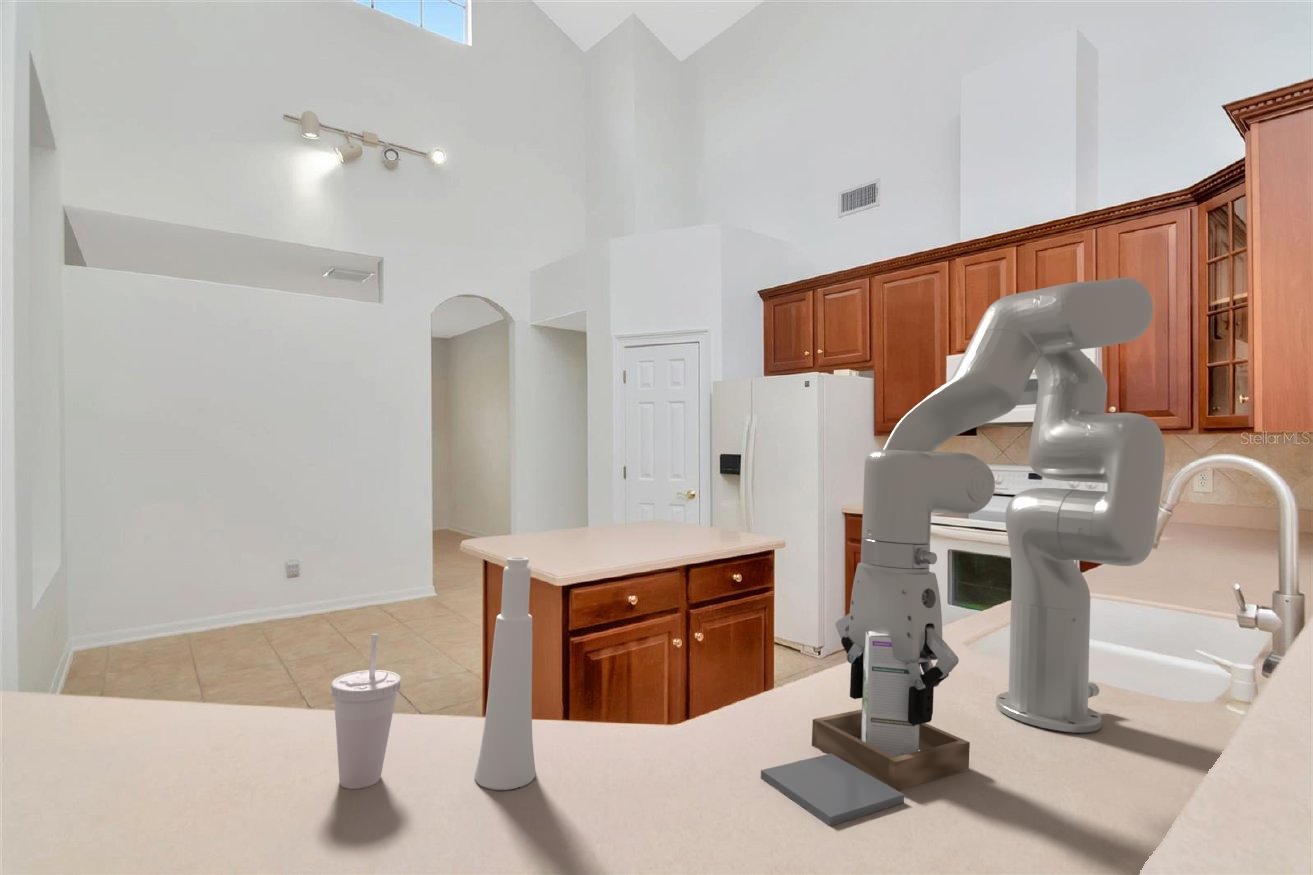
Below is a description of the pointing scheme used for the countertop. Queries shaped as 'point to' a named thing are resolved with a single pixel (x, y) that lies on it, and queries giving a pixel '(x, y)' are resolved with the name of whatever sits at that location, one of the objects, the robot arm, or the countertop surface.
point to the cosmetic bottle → (510, 689)
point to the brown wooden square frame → (931, 763)
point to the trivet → (832, 788)
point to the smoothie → (363, 721)
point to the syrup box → (886, 699)
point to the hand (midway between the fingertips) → (889, 708)
